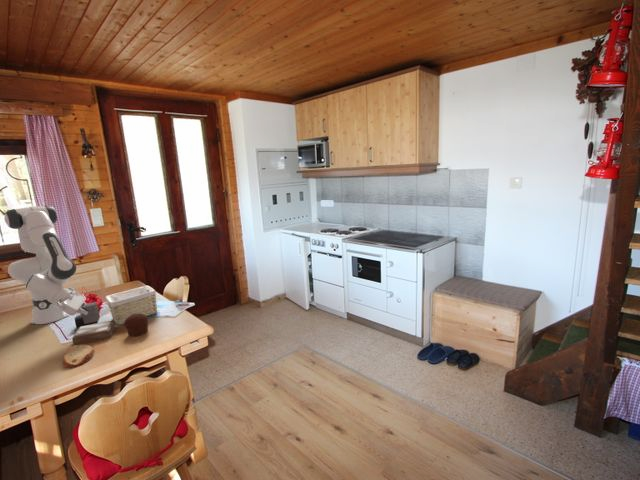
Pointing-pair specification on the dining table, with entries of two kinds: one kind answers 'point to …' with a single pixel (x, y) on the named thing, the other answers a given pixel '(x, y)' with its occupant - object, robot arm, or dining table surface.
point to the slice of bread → (77, 355)
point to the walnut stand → (93, 332)
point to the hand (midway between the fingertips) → (89, 311)
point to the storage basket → (132, 303)
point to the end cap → (81, 321)
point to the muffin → (136, 324)
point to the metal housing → (90, 312)
